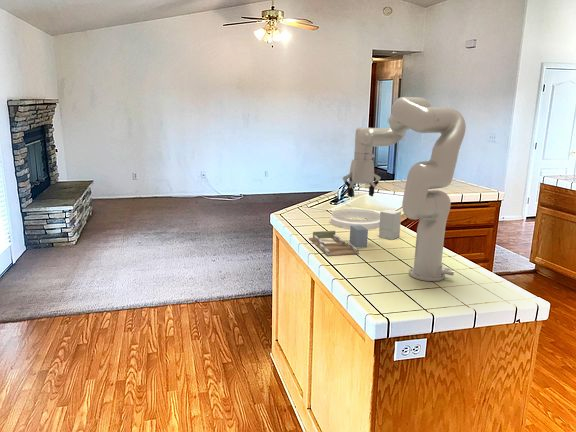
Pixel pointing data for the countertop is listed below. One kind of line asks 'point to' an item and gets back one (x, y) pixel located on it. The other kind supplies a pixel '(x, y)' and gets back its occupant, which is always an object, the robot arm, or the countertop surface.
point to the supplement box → (390, 224)
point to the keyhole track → (332, 244)
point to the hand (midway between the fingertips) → (360, 196)
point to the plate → (340, 219)
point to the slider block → (358, 236)
